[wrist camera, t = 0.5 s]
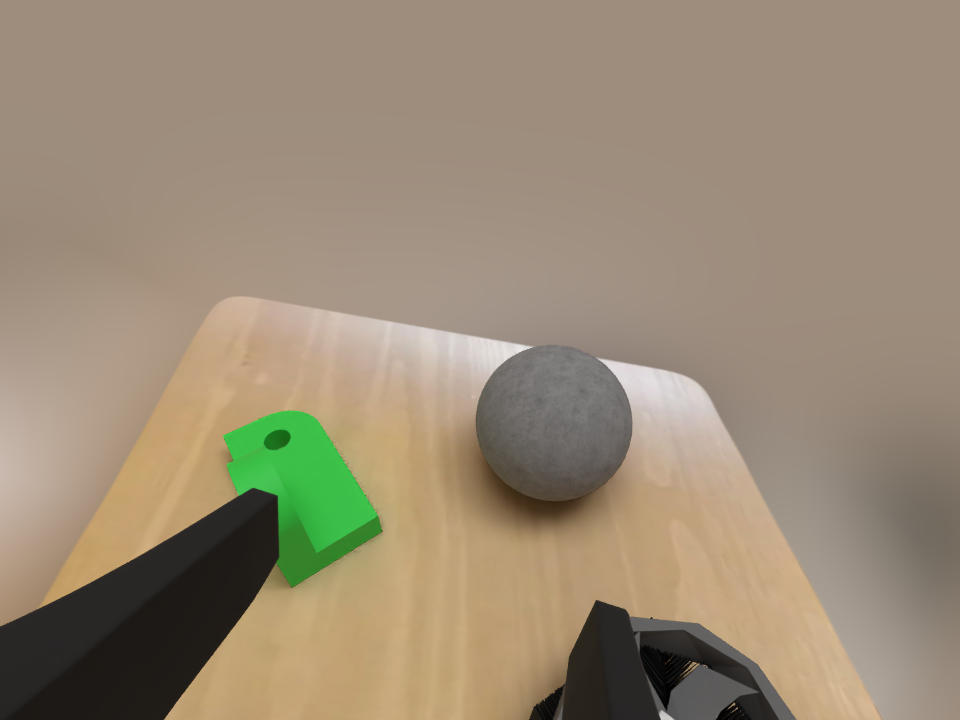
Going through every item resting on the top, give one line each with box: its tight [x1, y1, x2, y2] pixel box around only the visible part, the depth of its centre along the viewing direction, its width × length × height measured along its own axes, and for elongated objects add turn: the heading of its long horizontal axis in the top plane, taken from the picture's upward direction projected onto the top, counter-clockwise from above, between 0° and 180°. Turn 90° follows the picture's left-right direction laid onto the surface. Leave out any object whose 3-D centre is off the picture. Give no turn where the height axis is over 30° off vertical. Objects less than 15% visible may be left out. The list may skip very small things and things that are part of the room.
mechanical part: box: [223, 411, 382, 587], centre depth 31 cm, size 12×6×8 cm, turn 36°
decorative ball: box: [476, 345, 632, 501], centre depth 32 cm, size 10×10×10 cm
